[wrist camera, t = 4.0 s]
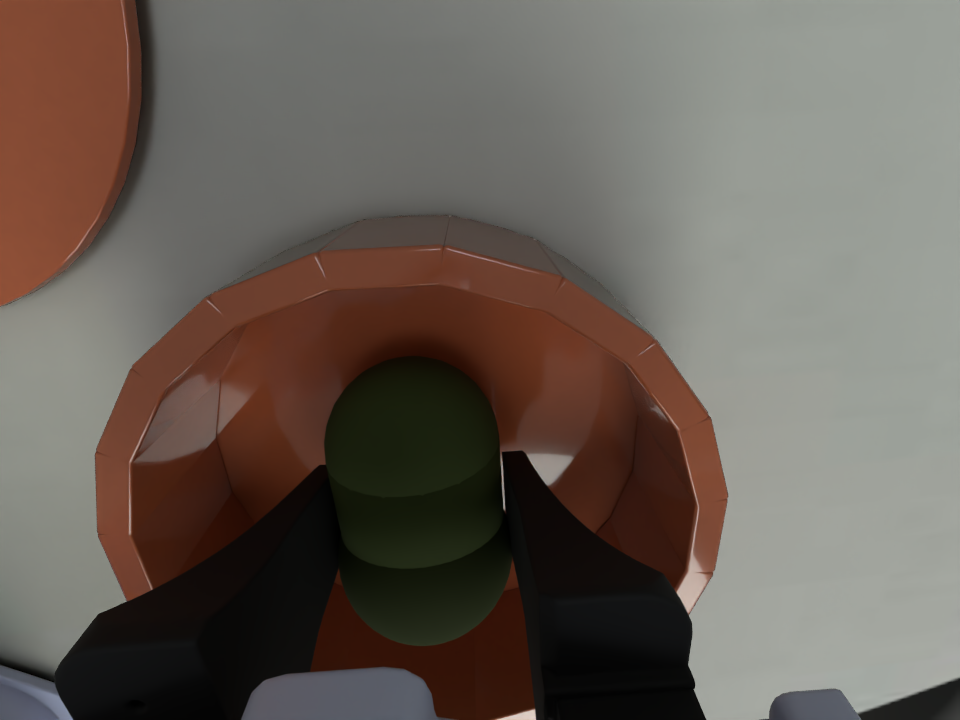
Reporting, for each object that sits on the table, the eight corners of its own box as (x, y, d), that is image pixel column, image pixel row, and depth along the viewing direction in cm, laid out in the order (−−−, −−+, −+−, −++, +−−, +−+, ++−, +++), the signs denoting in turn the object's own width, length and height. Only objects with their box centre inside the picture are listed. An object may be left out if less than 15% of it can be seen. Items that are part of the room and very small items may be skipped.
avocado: (509, 545, 18) (522, 683, 13) (370, 553, 18) (335, 693, 13) (498, 326, 15) (509, 409, 10) (328, 337, 15) (261, 425, 10)
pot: (133, 503, 18) (18, 627, 13) (329, 96, 13) (255, 69, 8) (492, 657, 21) (500, 795, 17) (750, 384, 16) (859, 474, 12)
